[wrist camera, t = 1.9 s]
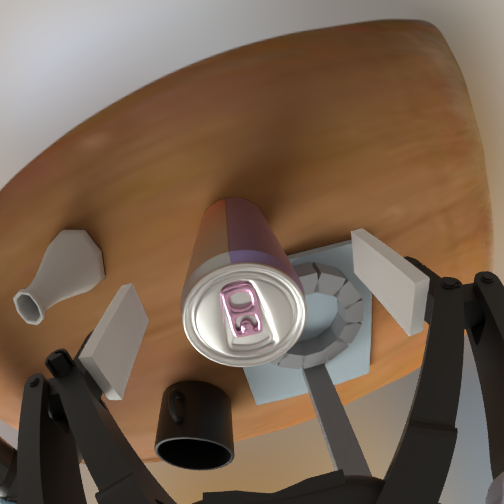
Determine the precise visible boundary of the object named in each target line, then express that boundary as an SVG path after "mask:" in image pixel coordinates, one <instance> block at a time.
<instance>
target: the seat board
mask: <svg viewBox="0 0 504 504" xmlns="http://www.w3.org/2000/svg"><path fill="white" fill-rule="evenodd" d="M287 257H288V259H289V261H290V263H291V264H292V266H293V268H294V270H295V272H296V273H297V275H298V277H299V279H300V281H301V283H302V286H303V289H304V294H305V302H306V307H307V318H306V323H305V327H304V329H303V332H302V334H301V336H300V337H299V339H298V340H297V342H296V343H295V344H294V345H293V346H292V347H291V348H290V349H289V350H288V351H287V352H286V353H284V354H283V355H281V356H280V357H278V358H276V359H274V360H272V361H270V362H267V363H264V364H261V365H257V366H250V367H243V370H244V372H245V375H246V378H247V381H248V383H249V386H250V389H251V392H252V394H253V397H254V400H255V402H256V405H260V404H265V403H269V402H274V401H278V400H282V399H286V398H290V397H294V396H298V395H302V394H305V393H309V394H310V397H311V400H312V403H313V406H314V409H315V412H316V415H317V418H318V421H319V424H320V427H321V430H322V433H323V436H324V439H325V442H326V445H327V448H328V451H329V454H330V457H331V460H332V463H333V466H334V469H335V471H337V470H340V469H343V472H344V475H365V476H371V477H372V475H371V472H370V470H369V467H368V465H367V463H366V460H365V458H364V455H363V453H362V450H361V448H360V446H359V443H358V441H357V438H356V436H355V434H354V431H353V429H352V427H351V424H350V422H349V419H348V417H347V415H346V413H345V410H344V408H343V405H342V403H341V401H340V398H339V396H338V394H337V392H336V389H335V387H334V385H336V384H339V383H342V382H345V381H348V380H351V379H354V378H356V377H359V376H362V375H365V374H368V373H369V364H370V348H371V322H372V292H371V291H370V290H369V289H368V288H367V287H366V285H365V284H364V283H363V282H362V281H361V280H360V279H359V278H358V276H357V275H356V274H355V273H354V263H353V249H352V239H351V240H347V241H343V242H339V243H335V244H331V245H327V246H323V247H319V248H315V249H311V250H307V251H303V252H299V253H295V254H291V255H287Z"/></svg>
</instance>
